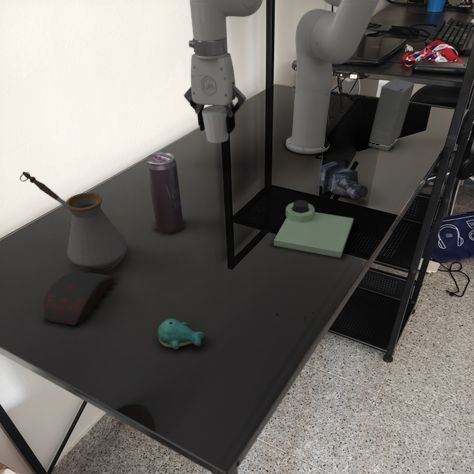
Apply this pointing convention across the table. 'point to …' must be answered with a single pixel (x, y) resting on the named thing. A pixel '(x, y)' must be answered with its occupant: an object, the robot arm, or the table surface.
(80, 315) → the computer mouse
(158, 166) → the beverage can
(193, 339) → the whale figurine
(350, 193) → the dark statue fragment
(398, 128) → the cosmetic box
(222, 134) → the grey cup
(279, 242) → the scale
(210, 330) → the table surface
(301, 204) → the button
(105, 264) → the coffee pot
